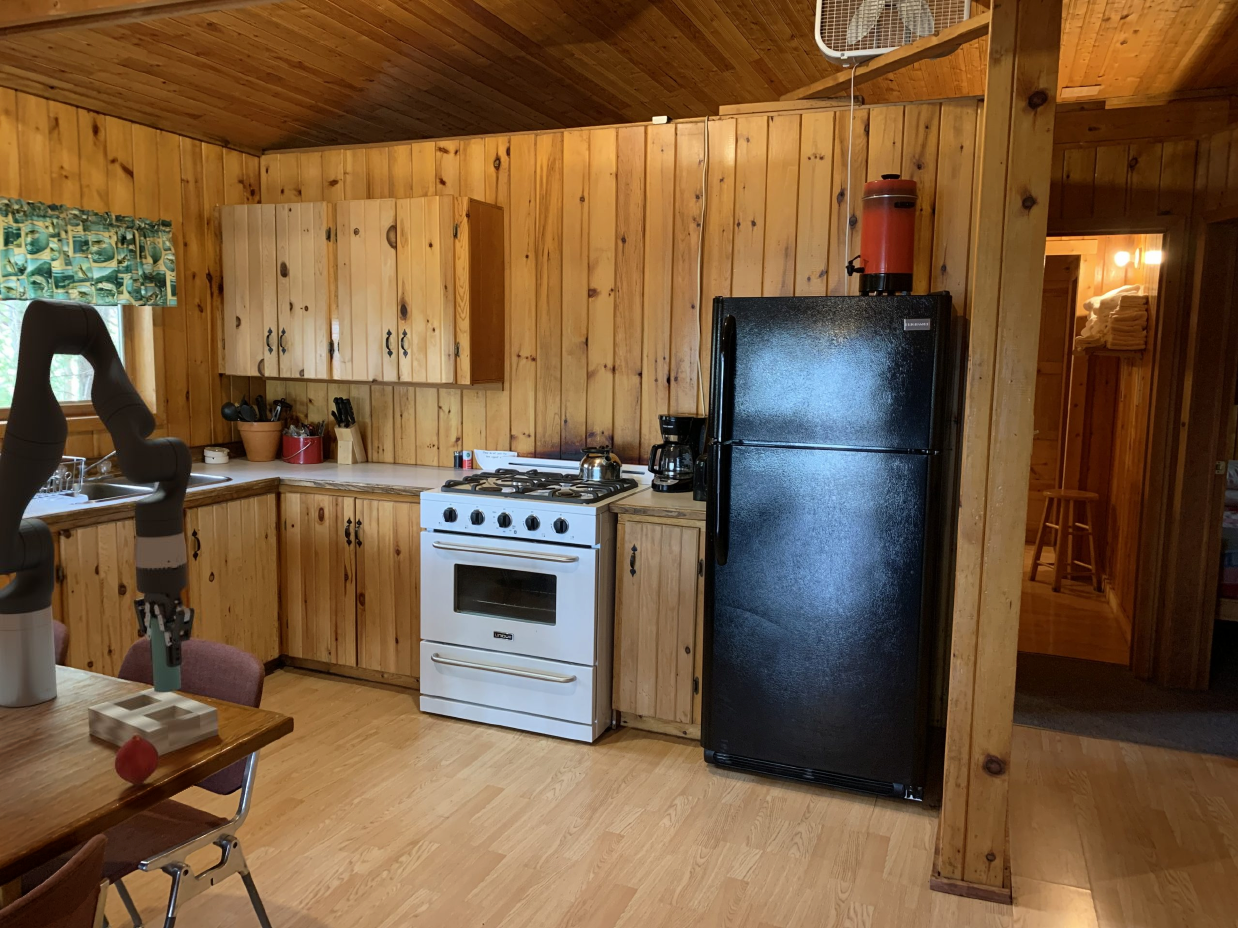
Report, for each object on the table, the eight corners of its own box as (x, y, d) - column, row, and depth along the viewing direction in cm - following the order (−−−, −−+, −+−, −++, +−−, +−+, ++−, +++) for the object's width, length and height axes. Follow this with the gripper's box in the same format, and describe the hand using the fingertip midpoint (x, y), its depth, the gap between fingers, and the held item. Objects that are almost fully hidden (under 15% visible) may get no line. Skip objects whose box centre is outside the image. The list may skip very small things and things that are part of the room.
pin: (149, 689, 155) (145, 618, 154) (171, 682, 159) (168, 612, 157) (163, 693, 153) (159, 621, 152) (186, 686, 157) (182, 616, 155)
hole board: (89, 733, 159) (87, 707, 159) (157, 711, 169) (156, 686, 169) (150, 759, 150) (148, 731, 149) (218, 734, 159) (217, 708, 159)
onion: (110, 784, 141) (107, 732, 140) (151, 772, 145) (149, 722, 144) (123, 797, 137) (120, 744, 136) (165, 785, 141) (163, 733, 140)
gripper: (114, 559, 154) (120, 661, 156) (164, 570, 147) (170, 678, 148) (158, 552, 160) (163, 650, 162) (208, 562, 153) (213, 665, 155)
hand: (166, 662), depth 155 cm, fingers closed on pin, 4 cm apart
